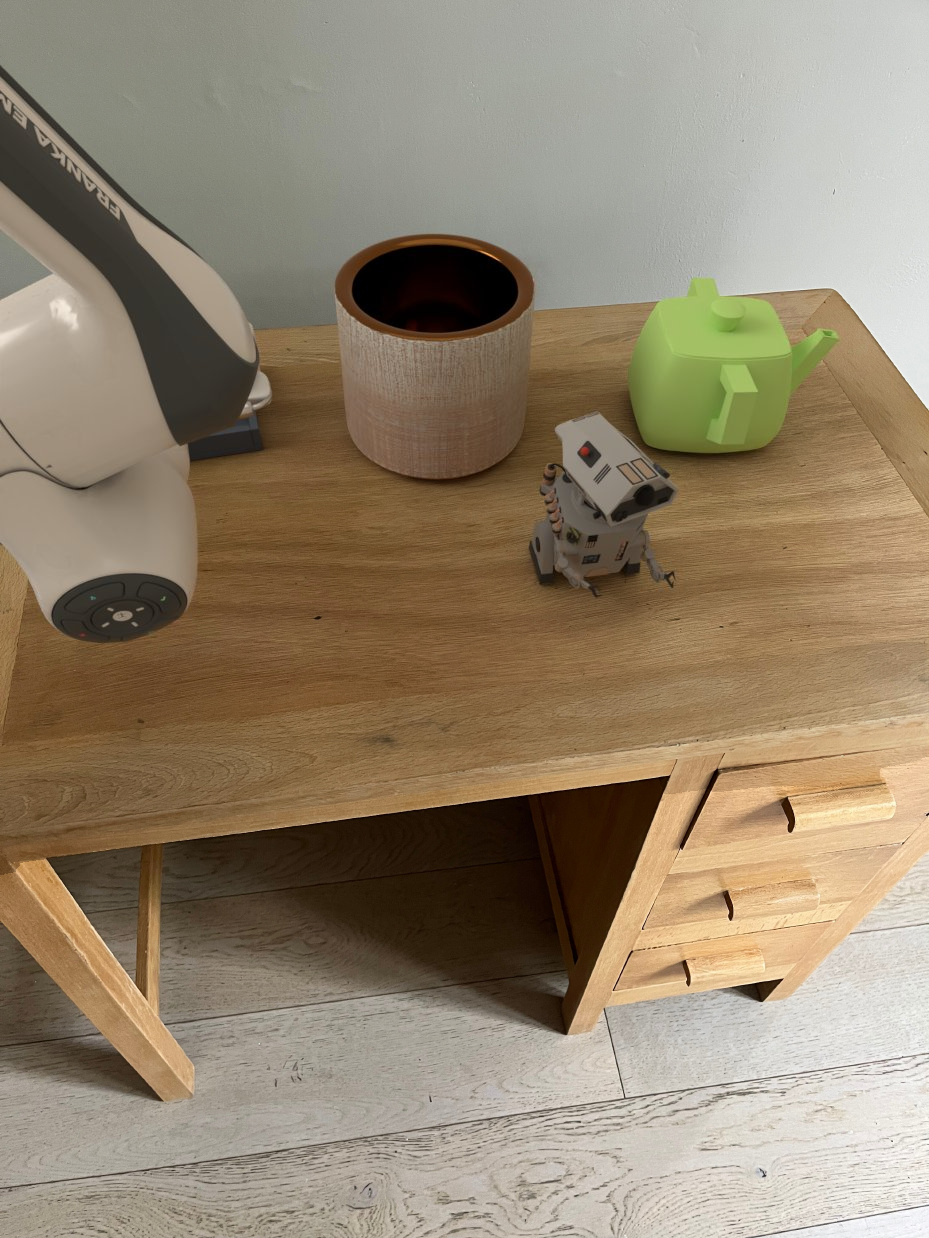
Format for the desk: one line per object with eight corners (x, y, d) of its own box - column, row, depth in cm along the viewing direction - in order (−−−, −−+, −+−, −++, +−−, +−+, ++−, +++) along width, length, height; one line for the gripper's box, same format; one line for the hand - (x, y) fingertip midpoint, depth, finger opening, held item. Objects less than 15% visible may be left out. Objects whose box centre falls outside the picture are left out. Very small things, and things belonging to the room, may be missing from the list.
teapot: (778, 363, 94) (819, 250, 84) (832, 488, 82) (888, 373, 72) (612, 363, 94) (633, 248, 84) (641, 488, 81) (670, 372, 71)
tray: (74, 479, 80) (65, 458, 78) (75, 392, 89) (66, 371, 87) (263, 449, 84) (259, 428, 82) (247, 368, 92) (243, 347, 90)
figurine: (554, 640, 70) (577, 506, 58) (524, 539, 77) (539, 402, 65) (661, 626, 71) (705, 493, 59) (622, 528, 78) (654, 391, 66)
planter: (369, 502, 79) (356, 355, 67) (332, 388, 90) (314, 244, 78) (548, 468, 83) (567, 323, 71) (492, 363, 93) (500, 221, 81)
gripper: (269, 370, 55) (245, 261, 64) (-74, 415, 51) (-53, 293, 60) (282, 446, 60) (258, 336, 69) (-30, 493, 56) (-16, 370, 65)
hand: (111, 316), depth 64 cm, fingers open, 8 cm apart
